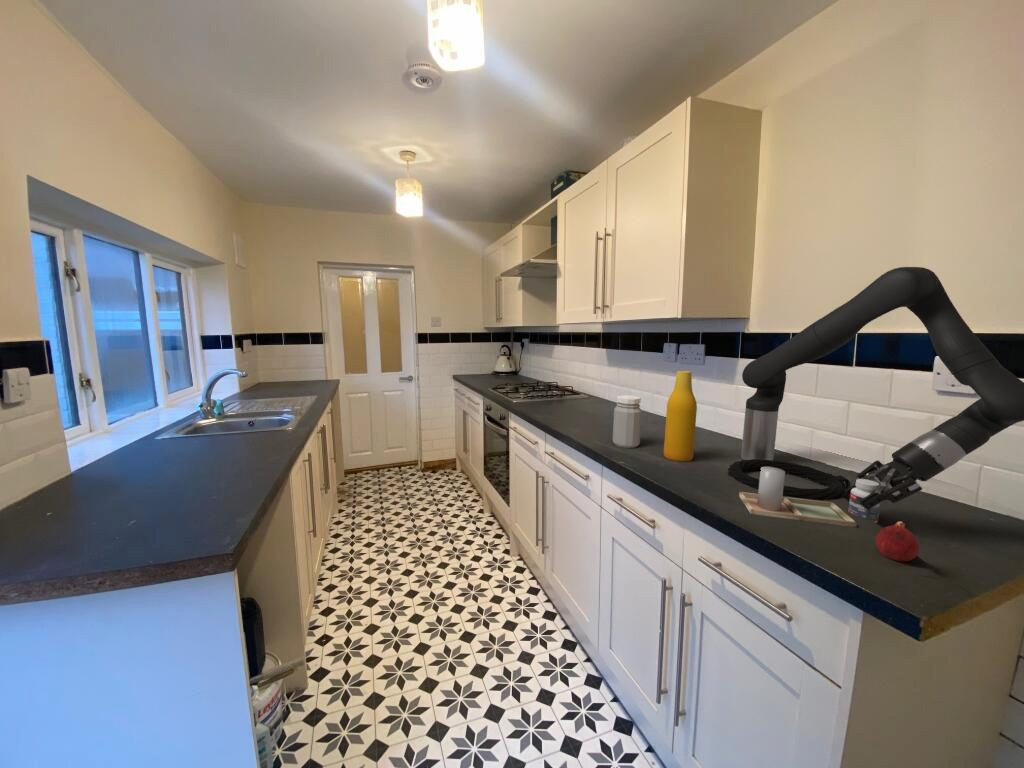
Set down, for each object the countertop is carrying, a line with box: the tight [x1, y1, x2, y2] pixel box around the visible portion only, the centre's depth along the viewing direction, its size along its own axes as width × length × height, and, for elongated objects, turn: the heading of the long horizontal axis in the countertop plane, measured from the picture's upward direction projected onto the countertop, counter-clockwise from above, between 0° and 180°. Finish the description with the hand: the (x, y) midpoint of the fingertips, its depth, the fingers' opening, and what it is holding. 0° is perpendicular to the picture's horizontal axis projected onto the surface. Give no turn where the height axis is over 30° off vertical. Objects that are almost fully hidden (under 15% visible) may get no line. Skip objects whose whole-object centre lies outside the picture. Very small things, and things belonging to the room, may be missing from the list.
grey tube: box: [757, 467, 786, 511], centre depth 96 cm, size 5×5×9 cm
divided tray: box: [738, 491, 858, 528], centre depth 95 cm, size 11×20×2 cm, turn 74°
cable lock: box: [727, 459, 853, 501], centre depth 114 cm, size 28×4×30 cm
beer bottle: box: [663, 370, 698, 463], centre depth 135 cm, size 9×9×29 cm
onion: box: [875, 521, 920, 563], centre depth 75 cm, size 6×6×8 cm
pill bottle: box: [847, 478, 882, 524], centre depth 93 cm, size 5×5×9 cm
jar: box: [612, 394, 643, 449], centre depth 150 cm, size 10×10×18 cm
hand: (855, 500), depth 94 cm, fingers open, 5 cm apart
